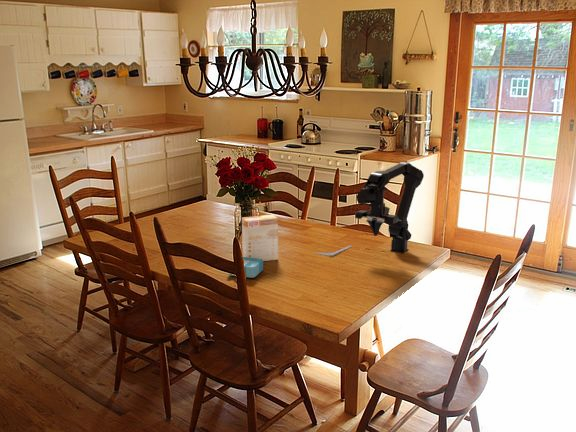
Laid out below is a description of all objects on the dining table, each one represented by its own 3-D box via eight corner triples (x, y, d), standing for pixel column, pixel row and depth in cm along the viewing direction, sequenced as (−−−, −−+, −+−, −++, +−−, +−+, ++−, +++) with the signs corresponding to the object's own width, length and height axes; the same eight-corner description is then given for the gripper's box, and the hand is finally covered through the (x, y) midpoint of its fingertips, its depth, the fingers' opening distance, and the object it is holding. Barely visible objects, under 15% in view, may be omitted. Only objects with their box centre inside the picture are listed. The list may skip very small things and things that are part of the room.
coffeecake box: (273, 255, 246) (273, 214, 242) (278, 259, 240) (278, 217, 235) (242, 258, 241) (241, 216, 236) (246, 263, 234) (245, 220, 230)
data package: (253, 267, 216) (226, 264, 219) (254, 278, 217) (226, 275, 220) (264, 258, 227) (237, 256, 230) (264, 268, 228) (238, 266, 231)
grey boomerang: (351, 248, 257) (352, 246, 257) (331, 257, 243) (331, 255, 243) (326, 242, 266) (326, 241, 266) (305, 251, 252) (305, 249, 252)
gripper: (404, 200, 235) (402, 235, 239) (367, 195, 246) (366, 228, 249) (393, 205, 226) (391, 240, 230) (354, 199, 237) (353, 233, 241)
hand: (375, 235), depth 238 cm, fingers closed
